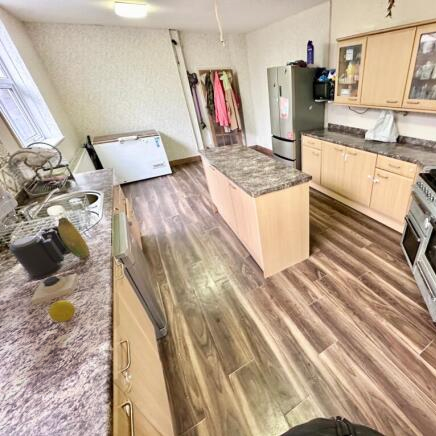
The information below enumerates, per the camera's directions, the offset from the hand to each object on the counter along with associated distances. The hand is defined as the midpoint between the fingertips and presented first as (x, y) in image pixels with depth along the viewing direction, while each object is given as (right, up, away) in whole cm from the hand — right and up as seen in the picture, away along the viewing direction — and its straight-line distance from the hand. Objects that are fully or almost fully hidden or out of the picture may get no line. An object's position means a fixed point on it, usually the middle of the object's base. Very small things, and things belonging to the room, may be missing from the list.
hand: (9, 224), depth 95 cm
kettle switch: (+6, -8, +8) cm, 13 cm away
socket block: (+29, -24, -9) cm, 39 cm away
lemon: (+44, -30, -21) cm, 57 cm away
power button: (+29, -21, -11) cm, 37 cm away
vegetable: (+24, -15, +8) cm, 29 cm away
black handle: (+9, -13, +13) cm, 20 cm away
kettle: (+15, -20, 0) cm, 25 cm away
